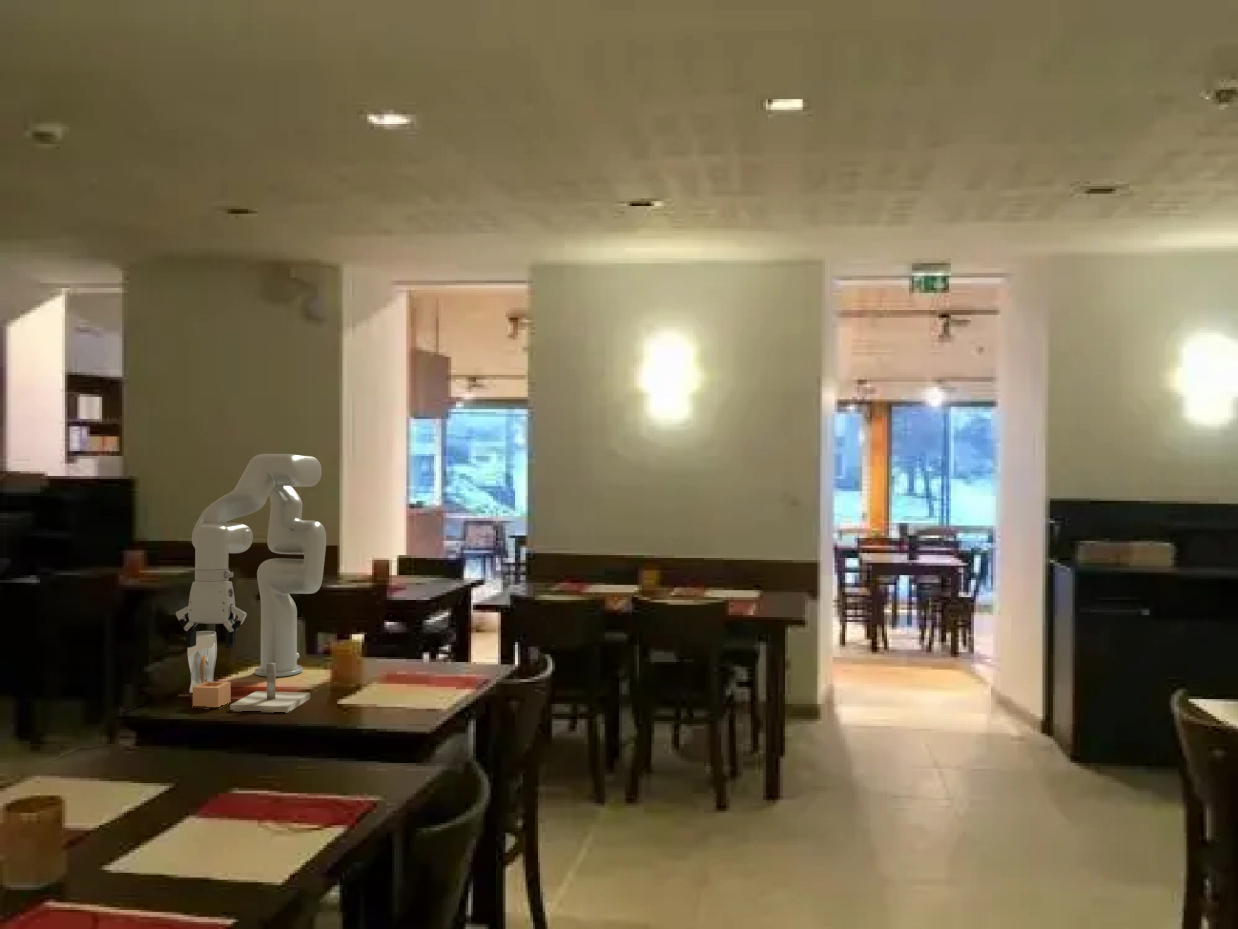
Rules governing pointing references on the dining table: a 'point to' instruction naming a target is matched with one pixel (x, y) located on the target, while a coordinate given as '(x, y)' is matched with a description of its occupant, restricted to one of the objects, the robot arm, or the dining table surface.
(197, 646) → the beer glass
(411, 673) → the dining table surface
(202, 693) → the orange square block
